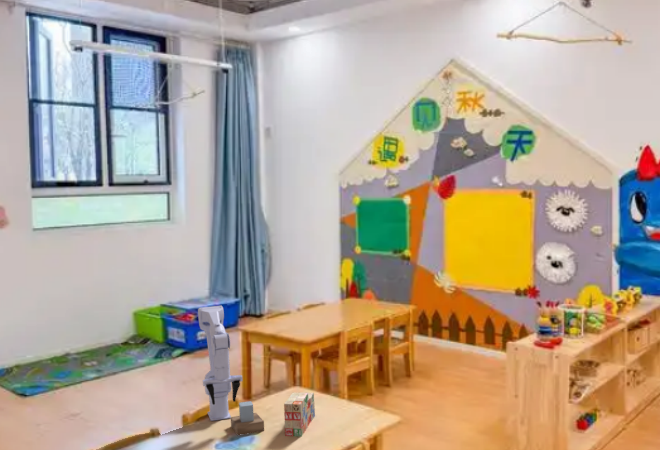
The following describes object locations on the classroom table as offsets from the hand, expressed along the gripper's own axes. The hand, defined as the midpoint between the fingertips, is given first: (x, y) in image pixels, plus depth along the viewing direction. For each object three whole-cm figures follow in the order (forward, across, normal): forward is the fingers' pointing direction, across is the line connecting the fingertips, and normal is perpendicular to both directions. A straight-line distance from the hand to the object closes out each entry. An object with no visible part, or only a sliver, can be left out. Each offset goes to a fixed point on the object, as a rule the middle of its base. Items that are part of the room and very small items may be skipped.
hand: (223, 402), depth 252 cm
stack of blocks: (+11, +27, -7) cm, 30 cm away
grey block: (+7, +8, -3) cm, 11 cm away
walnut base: (+11, +8, -2) cm, 14 cm away
